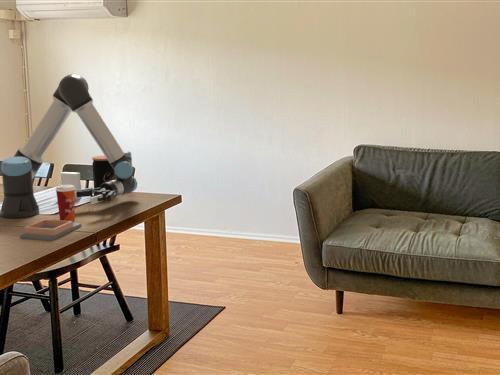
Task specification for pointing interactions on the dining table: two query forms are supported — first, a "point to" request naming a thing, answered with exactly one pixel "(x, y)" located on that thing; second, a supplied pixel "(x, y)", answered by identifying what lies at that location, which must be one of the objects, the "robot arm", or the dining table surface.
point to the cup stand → (49, 229)
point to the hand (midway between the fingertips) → (78, 199)
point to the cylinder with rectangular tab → (71, 180)
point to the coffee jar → (102, 171)
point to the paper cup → (66, 202)
